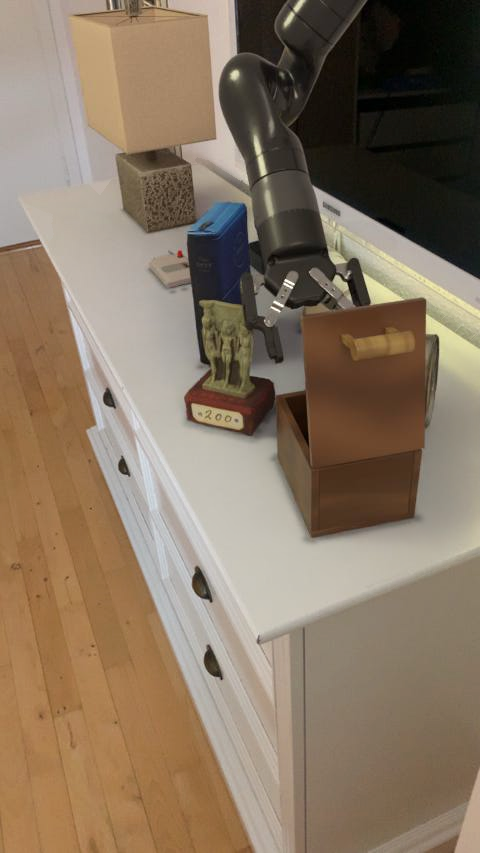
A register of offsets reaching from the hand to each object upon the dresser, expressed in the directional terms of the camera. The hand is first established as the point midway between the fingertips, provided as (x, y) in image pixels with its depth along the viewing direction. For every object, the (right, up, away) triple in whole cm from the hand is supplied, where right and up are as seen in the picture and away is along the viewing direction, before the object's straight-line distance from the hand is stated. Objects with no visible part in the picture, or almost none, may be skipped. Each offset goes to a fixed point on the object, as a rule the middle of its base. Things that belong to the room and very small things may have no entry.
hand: (316, 356), depth 78 cm
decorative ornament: (+5, +8, +30) cm, 31 cm away
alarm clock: (+12, -8, +8) cm, 16 cm away
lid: (+3, -4, -14) cm, 15 cm away
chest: (+3, -14, -1) cm, 15 cm away
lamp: (-26, +38, +75) cm, 89 cm away
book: (-11, +4, +26) cm, 29 cm away
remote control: (-21, +20, +50) cm, 58 cm away
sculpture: (-10, -7, +11) cm, 16 cm away
